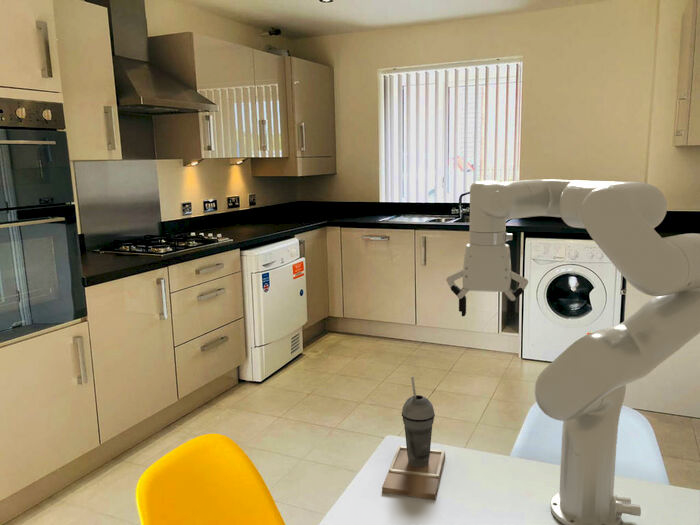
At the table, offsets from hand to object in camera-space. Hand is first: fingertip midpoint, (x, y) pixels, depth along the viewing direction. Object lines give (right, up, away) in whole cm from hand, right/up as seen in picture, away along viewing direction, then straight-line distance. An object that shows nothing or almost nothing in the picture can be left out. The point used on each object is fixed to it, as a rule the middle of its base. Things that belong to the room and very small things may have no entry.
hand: (486, 315), depth 129 cm
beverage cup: (-15, -33, +2) cm, 36 cm away
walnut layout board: (-16, -35, -1) cm, 38 cm away
